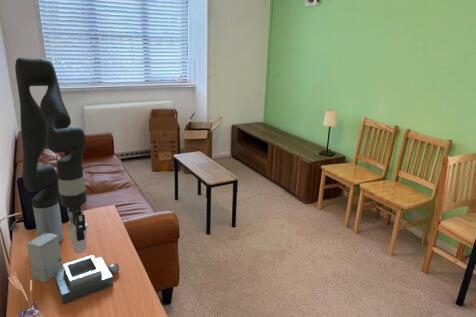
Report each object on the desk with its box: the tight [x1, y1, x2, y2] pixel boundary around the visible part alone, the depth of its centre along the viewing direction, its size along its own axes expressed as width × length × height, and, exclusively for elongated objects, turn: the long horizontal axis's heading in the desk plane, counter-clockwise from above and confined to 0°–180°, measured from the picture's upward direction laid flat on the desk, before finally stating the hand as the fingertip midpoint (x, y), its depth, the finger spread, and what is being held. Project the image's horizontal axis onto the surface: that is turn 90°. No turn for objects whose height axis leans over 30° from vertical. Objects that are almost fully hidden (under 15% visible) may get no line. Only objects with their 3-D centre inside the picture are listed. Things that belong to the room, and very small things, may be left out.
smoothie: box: [66, 221, 89, 255], centre depth 112 cm, size 6×6×14 cm
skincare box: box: [26, 233, 64, 284], centre depth 121 cm, size 8×6×15 cm
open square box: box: [53, 254, 120, 305], centre depth 119 cm, size 13×20×7 cm, turn 128°
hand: (78, 234), depth 113 cm, fingers closed on smoothie, 6 cm apart
